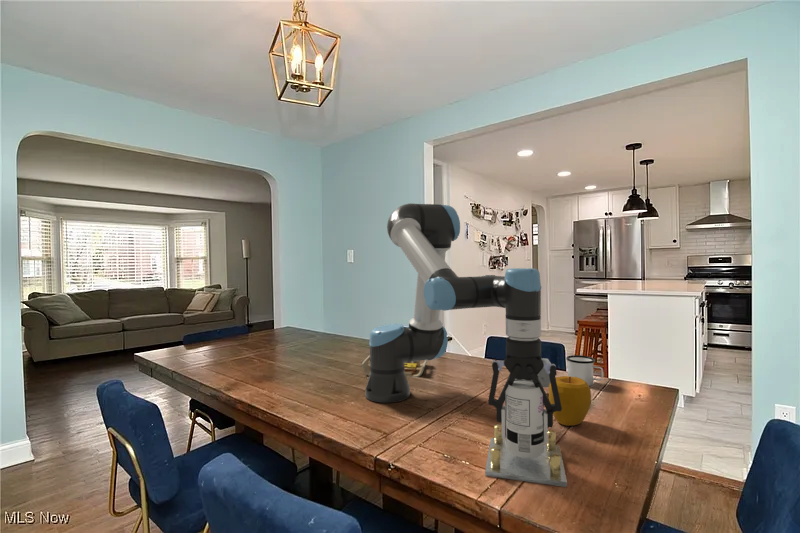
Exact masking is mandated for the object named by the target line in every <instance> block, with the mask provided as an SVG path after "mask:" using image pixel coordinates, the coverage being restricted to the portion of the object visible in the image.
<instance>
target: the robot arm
mask: <svg viewBox="0 0 800 533" xmlns="http://www.w3.org/2000/svg"><path fill="white" fill-rule="evenodd" d="M386 225H387V226H386V229H387V233H388V237H389V239H390V241H391V242H392V244H394V245H395V246H396V247H398V248H400V249H401V250H402V252H403V253H404V255H405V256H406V258H407V259H408V261H409V263H410V264H411V265H412V267H413V268H414V270H415V271H416V272H417V279H416V289H415V291H416V292H415V302H414V303H415V304H414V315H413V317H412V318H410V319H409V320H408V327H404V325H403V324H401V323H393V324H390V323H389V324H385V325H380V326H376V327H375V328H373V329H372V330H371V331H370V333H369V342H368V346H369V355H370V360H369V364H370V375H369V376H368V379H367V383H366V386H365V391H364V393H365V394H364V395H365V398H366V399H367V400H369V401H372V402H376V403H385V404H386V403H396V402H402V401H405V400H406V399H408V398H409V397H410V396H411V388H410V384H409V382H408V378H407V377H406V375H405V370H404V364H405V362H414V361H420V362H422V361H425V360H427V361H431V360H436V359H439V358H442V357H443V355H444V354H446V352H447V349H448V343H449V339H448V332H447V330H446V328H445V326H444V325H443V322H442V321H441V320H440V311H453V310H462V309H463V310H465V309H477V308H493V307H494V308H495V307H496V308H497V307H498V308H501V309H503V308H504V309H505V335H506V338H505V358H504V360H503V359H502V360H497V359H494V360H492V364H491V367H492V378H491V382H490V383H491V384H490V389H489V395H488V401H487V404H488V405H489V406H493V407H494V408H495V412H496V413H495V414H496V422H497V423H501V425H502V439H504V440H505V405H504V404H505V399H506V390H507V388H508V385H510V386H512V384H513V383H514V381H515V379H516V380H522V379H525V380H529V381H531V380H532V381H533V383H534V385H535V387H536V388H538V387H540V390H541V392H542V394H543V404H544V412H543V416H544V444H548V430H549V429H548V428H553V426H554V415H553V413H554V412H556V411H561V410H562V407H561V402H560V397H559V392H558V388H557V383H556V376H557V366H556V364H555V363H554V362H550V363H551V364H548V363H543V361H542V359H541V358H542V340H541V339H540V337H541V336H542V316H541V315H542V310H541V309H542V308H541V306H542V302H541V299H542V298H541V297H542V296H541V295H542V292H541V291H542V285H541V274H540V271H539V269H537V268H534V267H533V268H531V267H529V268H526V267H525V268H523V267H522V268H521V267H519V268H515V267H514V268H508V269H506V270H505V274H504V276H501V275H494V274H486V275H479V276H458V274H456V272H454V271H453V270H452V268H451V266H449V264H448V263H447V262H446V253H447V251H448V250H450V249H451V248H452V242H454V241H457V239H458V238H459V236H460V233H461V220H460V217H459V215H458V212H457V211H456V209H455V208H454V207H453V206H450V205H447V204H440V203H433V204H431V203H412V202H411V203H406V204H405V203H404V204H402V205H400V206H399V207H397V208H395V210H393V211H392V212H391V214H390V215H389V218H388V221H387V224H386ZM503 367H505V368H506V369H507V371H508V372H509V375H508V377H507V380H506V381H505V384H504V386H503V388H502V389H501V392H500V394H499V397H498V399H497V398H495V397H496V392H497V387H498V386H497V385H498V381H499V375H500V372H501V371H502V370H503ZM543 368H544V369H545V370H546V373H547V374H549V378H550V383H551V388H552V393H553V397H554V402H555V404H551V403H550V401H549V396H548V395H547V392H546V390H545V387H543V386H542V384H541V382H540V380H539V377H538V374H539V372H540V371H541V370H542V369H543Z"/></svg>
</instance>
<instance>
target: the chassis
mask: <svg viewBox="0 0 800 533" xmlns="http://www.w3.org/2000/svg"><path fill="white" fill-rule="evenodd" d="M493 427H494V428H493V430H494V431H493V433H494V434H493V435H494V436H493V437H494V438H493V437H490V441H489V446H488V452H487V458H486V464H485V471H484V475H485V477H493V478H498V479H506V480H513V481H521V482H525V483H526V482H528V483H532V484H533V483H535V484H543V485H549V486H555V487H556V486H557V487H563V488H568V481H567V476H566V470H565V465H564V461H563V455H562V451H561V446H560V445H557V440H556V439H557V438H556V437H557V435H556V431H555V430H553V429H548V444H546V443H544V452H543V453H542V454H541V455H540V456H538V457H536V458H521V457H517V456H515V455H513V454H511V453H510V452H509V450H508V449H507V448H506V446H505V439H502V424H494V425H493Z"/></svg>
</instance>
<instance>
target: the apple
mask: <svg viewBox="0 0 800 533" xmlns="http://www.w3.org/2000/svg"><path fill="white" fill-rule="evenodd" d="M555 378H556V383H557V388H558V392H559V397H560V402H561V407H562V410H561V411H556V412H554V413H553V418H554V419H555V421H556V422H557V423H559V424H560V425H562V426H570V427H573V426H578V425H579V424H582V422H583V421H584V420H585V418H586V416H587V415H588V413H589V411H590V410H589V409H590V408H591V404H592V403H591V402H592V393H591V388H590V386H589V385H588V384H587V382H585V381H584V380H583V379H581V378H577V377H571V376H568V375H564V376H558V377H557V376H555ZM548 399H549V401H550V403H551V404H555V402H554V397H553V393H552V388H551V383H550V385H549V387H548Z"/></svg>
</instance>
